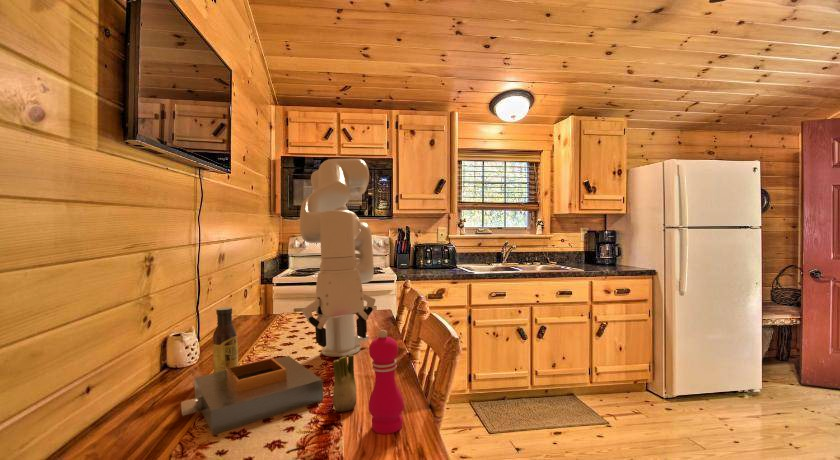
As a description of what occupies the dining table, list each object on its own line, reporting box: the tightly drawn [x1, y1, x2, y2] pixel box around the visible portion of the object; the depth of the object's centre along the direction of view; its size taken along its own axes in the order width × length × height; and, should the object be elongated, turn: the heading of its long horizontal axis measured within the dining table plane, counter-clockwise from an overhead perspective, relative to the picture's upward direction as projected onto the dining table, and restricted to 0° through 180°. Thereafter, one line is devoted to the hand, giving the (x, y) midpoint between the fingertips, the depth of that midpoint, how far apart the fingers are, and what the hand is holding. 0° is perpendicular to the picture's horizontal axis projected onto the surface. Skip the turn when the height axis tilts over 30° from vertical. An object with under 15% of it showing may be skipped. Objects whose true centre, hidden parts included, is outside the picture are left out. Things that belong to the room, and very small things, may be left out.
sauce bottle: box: [212, 306, 239, 373], centre depth 114 cm, size 6×6×20 cm
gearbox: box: [180, 355, 324, 436], centre depth 99 cm, size 28×24×8 cm
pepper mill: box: [368, 329, 405, 435], centre depth 83 cm, size 7×7×20 cm
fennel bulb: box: [332, 354, 357, 413], centre depth 92 cm, size 6×5×12 cm
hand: (342, 341), depth 92 cm, fingers open, 9 cm apart
